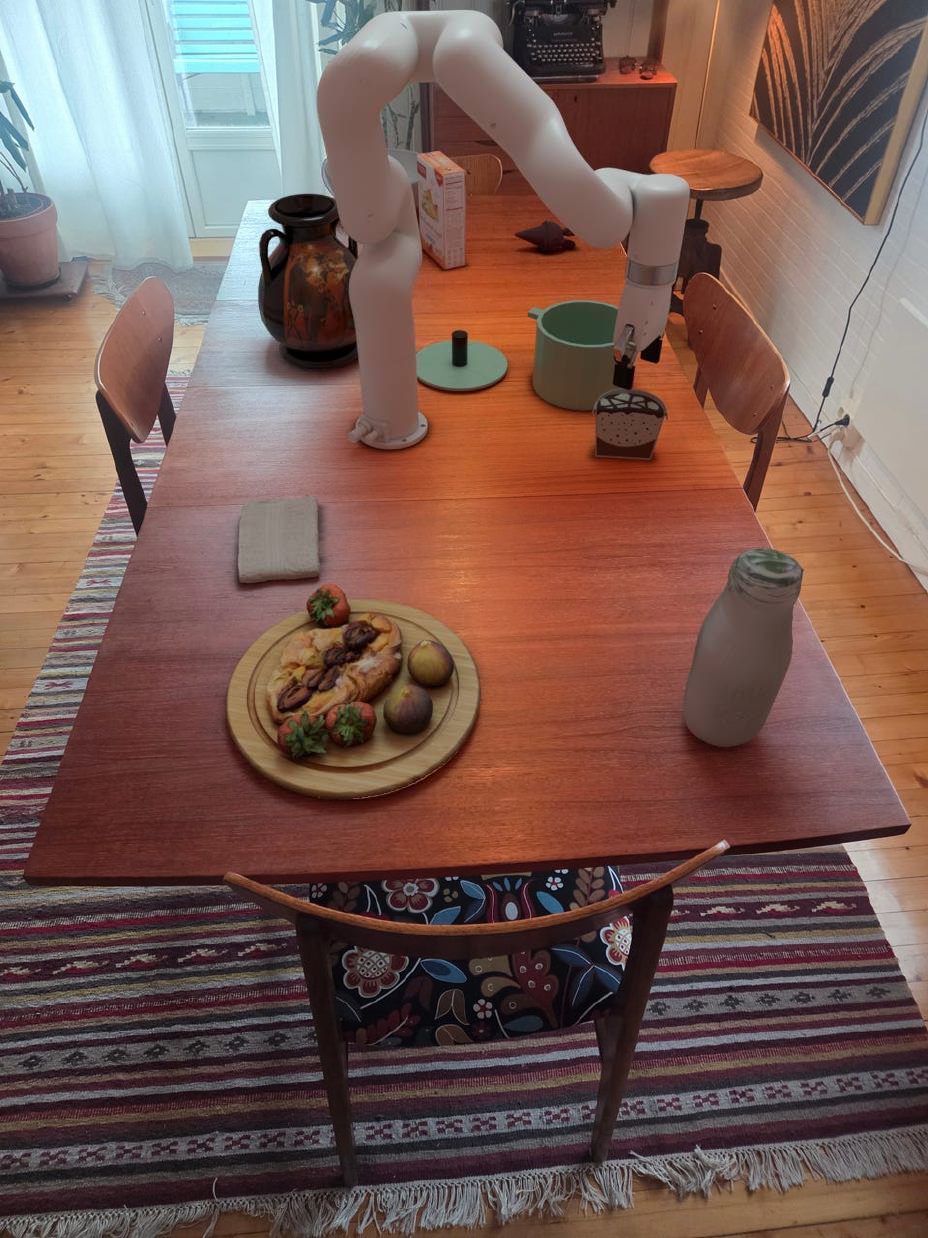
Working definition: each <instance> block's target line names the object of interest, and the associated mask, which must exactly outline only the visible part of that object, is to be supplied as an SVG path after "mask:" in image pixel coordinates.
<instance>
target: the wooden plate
mask: <svg viewBox="0 0 928 1238" xmlns="http://www.w3.org/2000/svg"><path fill="white" fill-rule="evenodd" d="M305 605H306V609H303V610H301V611H298V612H296V613H295V614H292V615H291V616H288V617H286V618H285V619H283V620H281V621H279V622H278V623H276V624H274V625H273V626H271V627H270V628H269V629H268V630H266V631H265V632H264V633H262V634H261V635H260V636H259V637H258V638H257V639H256V640H255V641H253V643H252V644H251V645H250V646H249V647H248V649H247V650H246V651H245V652H244V654H243V655H242V656H241V657H240V659H239V661H238V662H237V664H236V666H235V668H234V670H233V672H232V674H231V676H230V679H229V682H228V685H227V689H226V695H225V715H226V726H227V729H228V731H229V734H230V737H231V739H232V741H233V744H234V745H235V747H236V749H237V750H238V752H239V753H240V755H241V756H242V757H243V759H244V760H245V761H246V762H247V763H248V765H250V767H252V768H253V769H254V770H255V771H256V772H257V773H258V774H259V775H261V776H262V777H264V778H265V779H267V780H268V781H270V782H271V783H273V784H275V785H278V786H279V785H280V786H279V787H281V786H282V788H283V787H284V788H283V789H286V790H288V791H290V790H291V792H293V791H294V792H293V793H296V792H297V794H299V793H300V795H303V794H304V795H303V796H306V795H307V796H306V797H310V796H312V797H311V798H316V797H320V798H319V799H321V798H328V799H327V800H331V799H353V798H362V797H368V796H375V795H381V794H384V793H388V792H391V791H395V790H397V789H401V788H403V787H406V786H408V785H409V784H412V783H415V782H416V781H418V780H420V779H421V778H424V777H425V776H426V775H428V774H430V773H432V772H433V771H434V770H436V769H438V768H439V767H441V766H443V764H445V763H446V762H447V761H448V760H449V759H450V758H452V757H453V756H454V755H455V753H456V752H457V751H458V750H459V749H460V748H461V749H462V747H463V746H464V745H463V743H464V742H465V740H466V739H467V737H468V736H469V737H470V735H471V733H472V731H473V729H474V727H475V725H474V724H476V722H477V719H478V716H479V713H478V712H480V706H481V697H482V687H481V679H480V674H479V671H478V668H477V664H476V662H475V660H474V658H473V655H472V654H471V652H470V650H469V649H468V647H467V645H466V644H465V643H464V641H463V640H462V639H461V638H460V637H459V636H458V635H457V634H456V632H454V631H453V630H452V629H451V628H450V627H449V626H448V625H446V624H445V623H443V622H442V621H440V620H439V619H437V618H436V617H434V616H433V615H431V614H429V613H427V612H425V611H422V610H420V609H418V608H416V607H414V606H409V605H406V604H403V603H400V602H395V601H389V600H381V599H371V598H369V599H368V598H359V599H358V598H355V599H347V596H346V593H345V592H344V591H343V589H342V588H340V587H339V586H338V585H336V584H334V583H325V584H323V585H321V586H320V588H317V589H316V591H314V592H313V593H312V594H311V595H308V599H307V601H306V604H305ZM473 726H474V727H473ZM469 734H470V735H469ZM469 737H468V738H469ZM467 740H468V739H467ZM467 740H466V741H467ZM465 743H466V742H465ZM465 743H464V744H465ZM462 745H463V746H462ZM461 746H462V747H461ZM461 749H460V750H461ZM460 750H459V751H460ZM459 751H458V752H459ZM455 756H456V755H455ZM455 756H454V757H455ZM454 757H453V758H454ZM453 758H452V759H453ZM445 765H446V764H445ZM443 767H444V766H443ZM376 769H378V770H376ZM437 772H438V771H436V772H435V773H437ZM435 773H433V774H432V775H434V774H435ZM423 781H424V780H422V781H420V782H419V783H421V782H423ZM411 787H412V786H410V787H409V788H411ZM401 791H402V790H400V791H397V792H394V793H391V794H390V795H392V794H395V793H398V792H401ZM388 795H389V794H387V795H386V796H388ZM378 797H379V798H380V796H378ZM378 797H377V798H378ZM375 798H376V797H373V798H372V799H375ZM316 799H317V798H316ZM368 799H370V798H368ZM368 799H367V800H368ZM321 800H322V799H321ZM357 800H358V801H359V800H361V799H356V800H355V801H357Z"/></svg>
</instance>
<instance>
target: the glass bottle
mask: <svg viewBox="0 0 928 1238" xmlns="http://www.w3.org/2000/svg"><path fill="white" fill-rule="evenodd" d="M804 571H805V568H803V567H802V566H801V564H800V563H799V562H798V560H796V559H795V558H794V557H793V556H791V555H788V554H787V553H785V552H783V551H780V550H777V549H774V548H773V549H772V548H768V547H767V548H765V547H761V548H760V547H759V548H752V549H749V550H747V551H744V552H742V553H741V554H739V555H738V556H737V557H736V558H735V559H734V560H733V562H732V564H731V565H730V567H729V570H728V574H727V581H726V584H725V586H724V589H723V590H722V592H721V593H720V595H719V596H718V597H717V599H716V600H715V601H714V603H713V605H712V606H711V608H710V610H708V612H707V614H706V615H705V617H704V619H703V621H702V623H701V626H700V627H699V631H698V634H697V638H696V643H695V647H694V651H693V652H694V653H693V658H692V660H691V661H692V662H691V665H690V669H689V673H688V676H687V680H686V684H685V688H684V689H685V690H684V694H683V695H684V696H683V702H682V715H683V718H684V722H685V723H686V727H687V729H688V730H689V731H690V733H691V734H692V735H694V737H696V739H699V740H701V741H702V742H704V743H706V744H709V745H712V746H715V747H719V748H730V747H731V748H732V747H738V746H740V745H744V744H746V743H748V742H750V741H751V740H753V739H755V737H757V736H758V735H759V733H760V732H761V731H762V730H763V728H764V726H765V725H766V722H767V720H768V718H769V716H770V714H771V710H772V708H773V707H774V704H775V702H776V699H777V697H778V694H779V692H780V690H781V687H782V684H783V682H784V679H785V678H786V674H787V673H788V669H789V667H790V664H791V661H792V657H793V655H792V654H793V646H794V639H793V638H794V637H793V619H794V606H795V604H796V602H797V601H798V599H799V597H800V594H801V590H802V581H803V575H804Z"/></svg>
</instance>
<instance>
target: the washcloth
mask: <svg viewBox="0 0 928 1238" xmlns="http://www.w3.org/2000/svg"><path fill="white" fill-rule="evenodd" d="M319 535H320V533H319V499H318V498H317V497H315V496H311V495H304V496H302V497H295V498H294V497H293V498H277V499H276V498H275V499H274V498H273V499H258V500H254V499H253V500H250V501H248V502H246V503H245V504H243V506H242V510H241V516H240V519H239V521H238V541H237V544H238V545H237V547H238V554H237V555H238V556H237V569H238V580H239V583H244V584H252V583H253V584H254V583H260V582H261V583H265V582H268V581H272V580H273V581H276V580H287V581H290V580H299V579H307V578H316V577H319V576H321V575H322V573H321V569H320V568H321V561H320V540H319V539H320V537H319Z"/></svg>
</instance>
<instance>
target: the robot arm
mask: <svg viewBox="0 0 928 1238" xmlns="http://www.w3.org/2000/svg"><path fill="white" fill-rule="evenodd" d="M503 41H504V40H503V36H502V34H501V31H500V28H499V27H498V24H496V22H495V21H494V20H493V18H491V17H489V15H487V14H485V13H484V12H481V11H477V10H474V9H473V10H472V9H451V10H397V11H386V12H382V13H380V14H378V15H375V16H374V17H372V18H371V19H369V20H368V21H367V22H366V23H365V25H363V26H362V28H361V29H360V30H358V31H357V32H356V34H355V35H354V36H352V38H350V40H349V41H348V42H347V43H346V44H345V45H344V46H343V47H342V48H340V50H338V51H337V53H336V54H335V55H334V56H333V57H332V58H331V59H330V61H329V62H328V63H327V64H326V66H325V67H324V69H323V72H322V73H321V75H320V78H319V81H318V86H317V90H316V112H317V119H318V124H319V128H320V132H321V136H322V142H323V145H324V150H325V154H326V161H327V162H328V167H329V171H330V176H331V180H332V185H333V190H334V193H333V195H334V199H336V204H337V209H338V214H339V218H340V224H341V226H342V228H343V229H344V231H345V233H346V234H347V235H349V236H350V237H351V238H352V239H353V240H355V241H356V242H357V244H362V249H361V250H360V251H361V252H360V253H359V254H358V259H357V260H356V263H355V265H354V267H353V270H352V272H351V276H350V281H349V298H350V304H351V308H352V313H353V317H354V323H355V330H356V340H357V350H358V357H357V358H358V359H357V360H358V368H359V381H360V391H361V392H360V393H361V404H362V413H361V414H360V415H359V417H358V418H357V420H356V422H355V428H354V429H353V430H351V431H350V432H348V433H347V436H346V438H347V440H348V441H349V442H350V443H351V444H356V443H357V442H359V441H361V442H362V443H364V444H365V445H367V446H369V447H372V448H375V449H378V450H379V449H380V450H400V449H401V450H402V449H405V448H408V447H411V446H415V445H416V444H417V443H419V442H421V441H422V440H423V439H424V438H425V437H426V436H427V433H428V429H429V428H428V427H429V425H428V419H427V418H426V416H425V415H424V414H423V413H422V412H421V411H419V391H418V378H417V362H416V354H417V345H416V344H417V343H416V327H415V319H414V312H413V311H414V310H413V294H414V290H415V286H416V283H417V279H418V277H419V274H420V272H421V269H422V264H423V249H422V246H421V240H420V227H419V223H418V217H417V209H415V204H414V198H413V192H412V187H411V183H410V180H409V177H408V175H407V173H406V171H405V169H404V168H403V167H402V165H401V164H400V163H399V162H398V161H397V160H396V159H394V158H393V157H391V156H389V155H387V148H388V147H387V141H386V136H385V133H384V129H383V126H382V123H381V119H380V118H381V117H380V115H381V112H382V110H383V108H384V107H385V106H386V105H387V104H389V103H391V102H392V101H393V100H395V99H396V98H397V97H399V95H401V93H402V92H403V90H404V89H405V88H406V87H407V85H408V84H411V83H437V84H438V85H439V87H440V88H441V89H442V91H443V92H444V93H445V94H446V95H447V96H448V97H449V98H450V99H451V100H452V101H453V102H454V103H455V104H456V105H457V106H458V107H459V108H460V109H461V110H462V111H463V112H464V113H465V114H466V115H467V116H468V117H470V118H471V120H472V121H473V122H475V123H476V124H477V126H479V127H480V129H482V131H484V132H485V133H486V135H488V136H489V137H490V138H491V139H492V140H493V141H494V142H495V143H496V144H497V145H498V146H499V147H500V148H501V149H502V150H503V151H504V152H505V153H506V154H507V155H508V156H509V158H511V160H512V161H513V162H514V164H515V166H516V168H517V169H518V170H519V172H520V174H521V175H522V176H523V177H524V179H525V180H526V181H527V183H528V184H529V185H530V187H531V189H532V190H533V191H534V192H535V194H536V195H537V196H538V197H539V199H540V200H541V202H542V203H543V204H544V206H545V207H547V209H548V210H549V211H550V212H551V213H552V214H553V215H554V216H555V217H556V218H557V219H558V220H559V221H560V223H562V224H563V225H564V226H565V228H568V229H569V230H570V231H571V232H572V233H573V234H575V235H576V236H575V237H576V238H578V239H579V240H580V241H581V242H582V243H584V244H586V245H587V246H589V247H591V248H594V249H597V250H598V249H599V250H608V249H612V248H614V247H616V246H618V245H620V244H621V243H622V242H623V241H624V240H625V239H626V238H627V237H628V244H627V245H628V246H627V251H626V252H627V253H626V261H625V269H624V276H623V278H624V280H625V282H624V284H623V288H622V292H621V294H620V300H619V303H618V307H619V308H618V313H617V319H616V325H615V331H614V337H613V344H614V345H615V346H614V364H615V368H614V376H613V385H614V386H617V387H620V388H623V389H626V390H631V389H633V388H634V387H633V385H634V381H635V380H634V379H635V373H636V366H635V365H634V364H635V362H636V359H637V357H638V354H639V352H640V351H641V352H640V356H639V358H640V360H642V361H646V362H649V363H652V364H654V365H656V364H658V363H659V362H660V359H661V354H662V347H663V340H664V337H665V333H666V332H665V329H666V327H667V324H668V319H669V314H670V309H671V299H672V290H673V289H672V288H673V285H674V284H675V283H676V280H677V275H678V269H679V263H680V257H681V250H682V244H683V239H684V233H685V226H686V220H687V215H688V209H689V203H690V197H691V190H690V189H691V188H690V185H689V182H687V181H686V179H684V178H683V177H682V176H678V175H675V174H670V173H653V174H642V173H638V172H633V171H629V170H624V169H621V168H615V167H602V168H599V169H596V170H594V169H593V168H592V167H591V165H589V164H588V162H587V161H586V160H585V158H584V157H583V155H582V154H581V153H580V152H579V150H578V149H577V146H576V145H575V144H574V142H573V140H572V138H571V136H570V134H569V131H568V129H567V126H566V124H565V122H564V119H563V116H562V114H561V112H560V110H559V108H558V107H557V105H556V103H555V102H554V100H553V99H552V98H551V97H550V96H549V95H548V94H547V93H546V92H545V91H544V90H543V89H542V88H541V87H540V86H539V85H538V84H537V83H536V82H535V81H534V80H533V79H532V77H531V76H529V75H528V74H527V73H526V71H525V70H523V69H522V67H520V66H519V64H518V63H517V62H516V61H515V60H514V59H513V58H512V57H511V56H510V55H509V54H508V52H506V51H505V50H504V42H503ZM628 235H629V236H628ZM629 342H633V343H635V345H636V346H632V345H628V343H629ZM625 349H626V350H630V351H632V354H631V356H630V359H629V358H628V356H627V355H625Z"/></svg>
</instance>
